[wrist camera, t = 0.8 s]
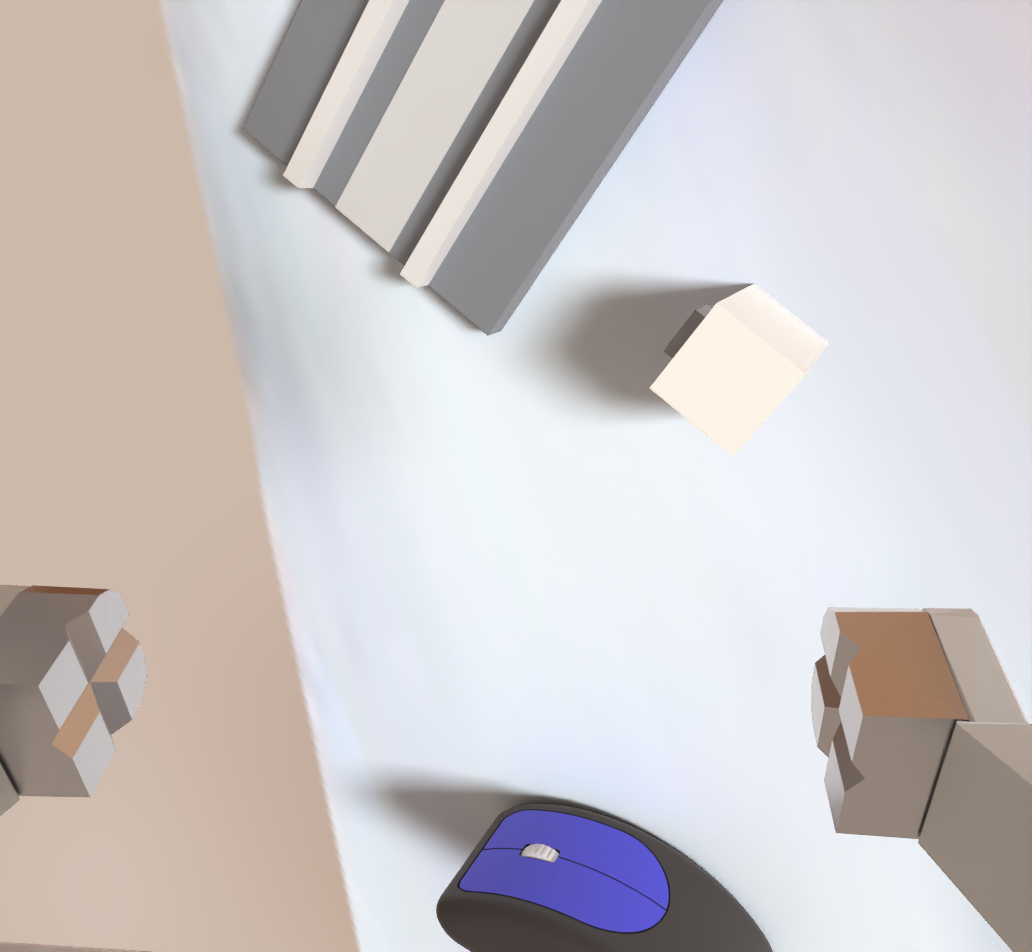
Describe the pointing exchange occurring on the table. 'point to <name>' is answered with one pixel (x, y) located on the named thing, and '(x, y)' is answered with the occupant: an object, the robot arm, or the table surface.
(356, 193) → the rail board
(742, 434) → the rail module
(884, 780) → the robot arm
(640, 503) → the table surface
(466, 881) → the blue black rounded shell
